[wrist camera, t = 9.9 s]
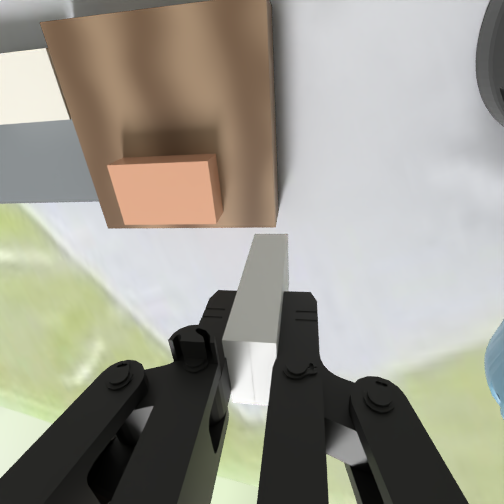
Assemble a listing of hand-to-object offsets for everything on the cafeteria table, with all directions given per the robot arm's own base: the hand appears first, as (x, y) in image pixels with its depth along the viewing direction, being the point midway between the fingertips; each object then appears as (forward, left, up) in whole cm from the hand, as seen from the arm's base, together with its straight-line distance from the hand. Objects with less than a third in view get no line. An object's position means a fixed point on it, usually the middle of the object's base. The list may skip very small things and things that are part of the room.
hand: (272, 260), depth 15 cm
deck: (+9, -4, -16) cm, 19 cm away
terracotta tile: (+9, 0, -12) cm, 15 cm away
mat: (+24, -4, -16) cm, 29 cm away
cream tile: (+22, -8, -16) cm, 28 cm away
